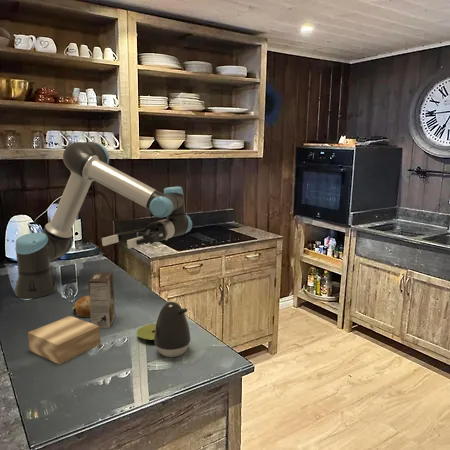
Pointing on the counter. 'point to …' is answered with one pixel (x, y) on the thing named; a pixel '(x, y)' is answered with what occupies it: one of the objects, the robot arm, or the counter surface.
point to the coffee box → (102, 299)
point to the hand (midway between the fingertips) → (114, 243)
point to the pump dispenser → (172, 330)
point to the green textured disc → (147, 332)
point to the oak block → (64, 339)
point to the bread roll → (82, 307)
